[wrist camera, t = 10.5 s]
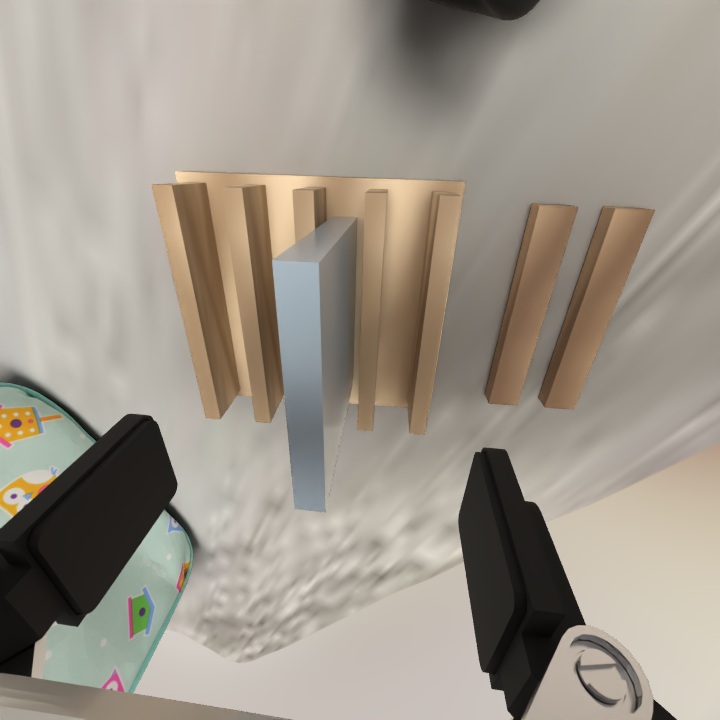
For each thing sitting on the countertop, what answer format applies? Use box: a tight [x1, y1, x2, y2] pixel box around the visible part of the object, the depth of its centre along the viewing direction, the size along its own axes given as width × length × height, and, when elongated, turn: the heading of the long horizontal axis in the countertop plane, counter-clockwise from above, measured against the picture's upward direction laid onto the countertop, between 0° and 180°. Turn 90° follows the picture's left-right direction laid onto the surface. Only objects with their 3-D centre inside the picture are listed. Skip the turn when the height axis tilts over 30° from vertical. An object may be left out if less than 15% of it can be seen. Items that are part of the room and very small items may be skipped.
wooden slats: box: [485, 204, 655, 409], centre depth 22 cm, size 6×13×1 cm, turn 178°
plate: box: [272, 216, 358, 512], centre depth 18 cm, size 1×11×11 cm, turn 178°
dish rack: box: [152, 171, 465, 435], centre depth 21 cm, size 16×15×4 cm
